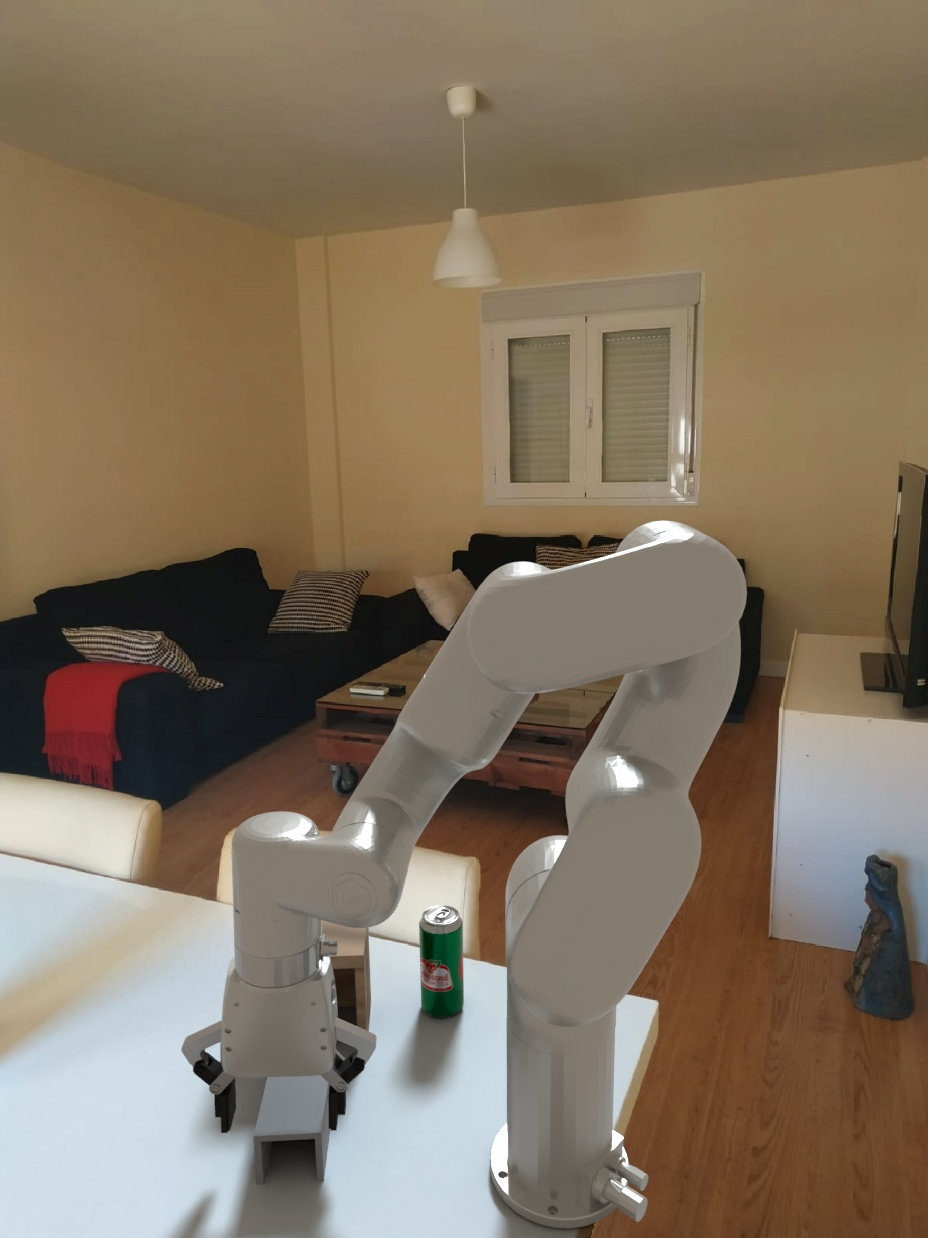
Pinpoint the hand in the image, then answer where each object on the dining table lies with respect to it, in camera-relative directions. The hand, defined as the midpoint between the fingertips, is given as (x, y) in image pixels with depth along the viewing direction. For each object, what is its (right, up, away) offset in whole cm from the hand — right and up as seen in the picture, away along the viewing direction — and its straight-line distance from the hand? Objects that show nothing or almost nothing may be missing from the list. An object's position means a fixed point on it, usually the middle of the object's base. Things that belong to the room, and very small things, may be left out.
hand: (281, 1120), depth 79 cm
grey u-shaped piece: (+1, -3, +5) cm, 6 cm away
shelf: (0, 0, +19) cm, 19 cm away
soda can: (+14, 0, +22) cm, 27 cm away
